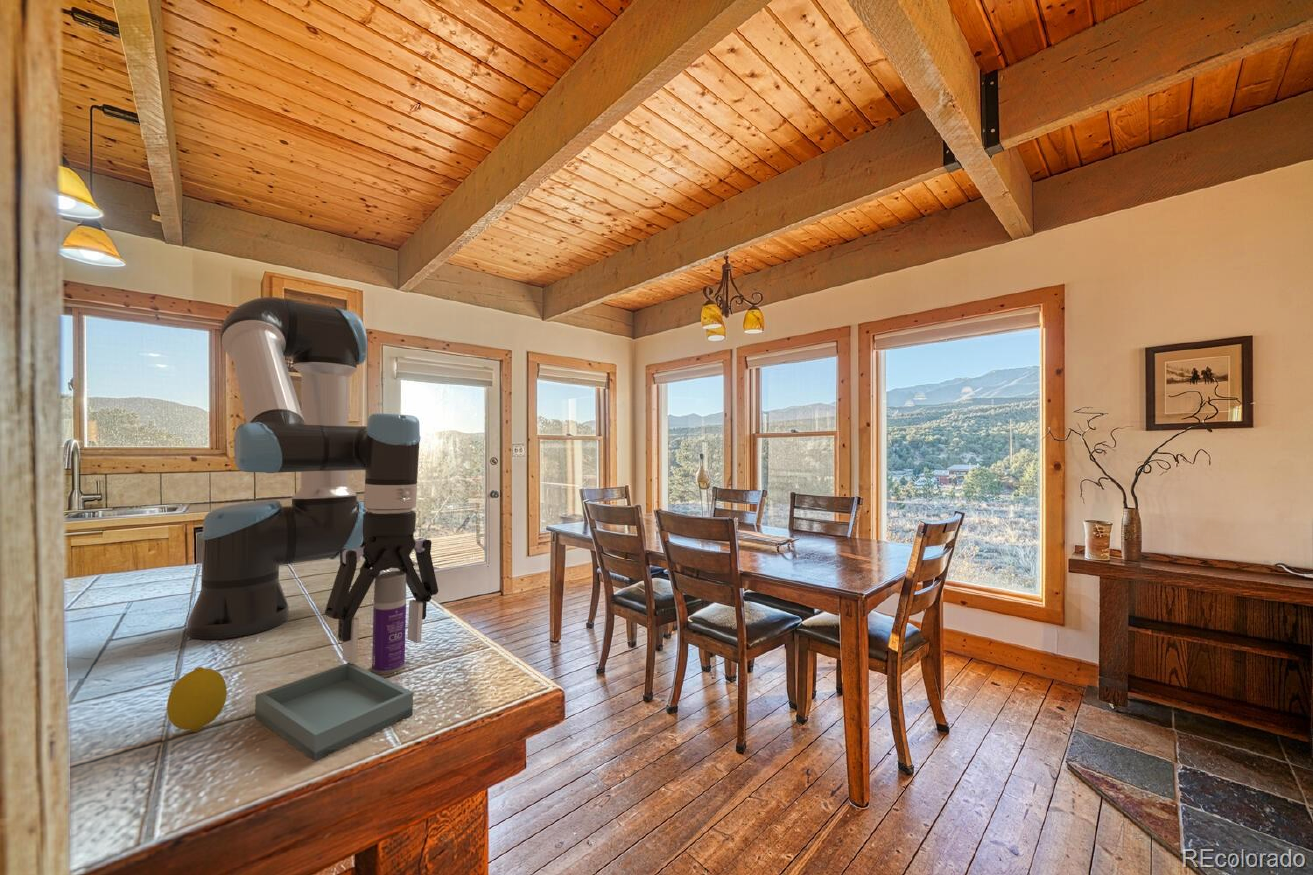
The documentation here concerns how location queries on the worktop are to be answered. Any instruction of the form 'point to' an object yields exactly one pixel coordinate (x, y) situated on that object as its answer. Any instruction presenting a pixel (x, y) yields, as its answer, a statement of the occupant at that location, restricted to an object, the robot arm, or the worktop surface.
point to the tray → (332, 709)
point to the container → (389, 622)
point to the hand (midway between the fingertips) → (383, 650)
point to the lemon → (196, 699)
